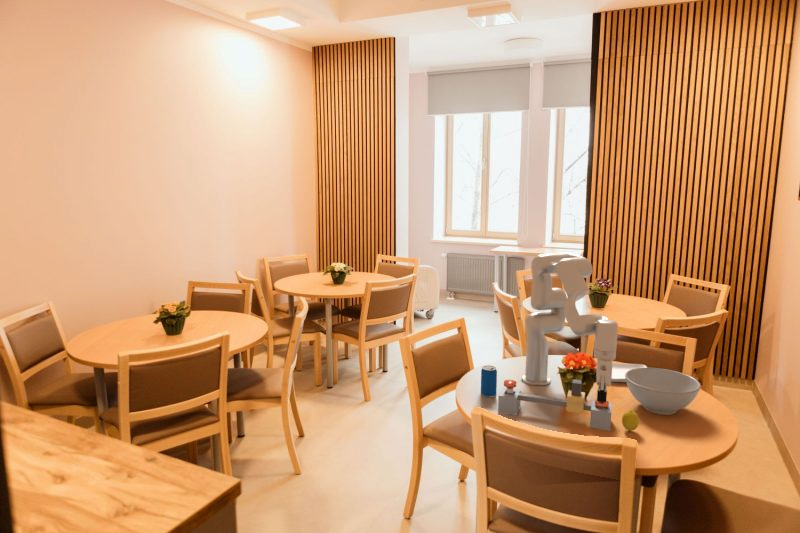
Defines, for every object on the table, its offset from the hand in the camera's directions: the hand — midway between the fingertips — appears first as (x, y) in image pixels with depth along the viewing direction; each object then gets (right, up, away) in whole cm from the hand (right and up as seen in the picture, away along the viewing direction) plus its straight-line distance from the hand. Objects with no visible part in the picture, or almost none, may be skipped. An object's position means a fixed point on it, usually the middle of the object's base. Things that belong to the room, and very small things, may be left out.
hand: (601, 400), depth 201 cm
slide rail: (-16, -8, +8) cm, 19 cm away
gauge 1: (-31, -3, +13) cm, 34 cm away
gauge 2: (0, -8, +1) cm, 8 cm away
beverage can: (-37, -5, +28) cm, 47 cm away
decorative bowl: (+29, -7, +15) cm, 33 cm away
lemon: (+9, -10, -4) cm, 14 cm away
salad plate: (+30, -2, +49) cm, 57 cm away
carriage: (-8, -4, +4) cm, 10 cm away
